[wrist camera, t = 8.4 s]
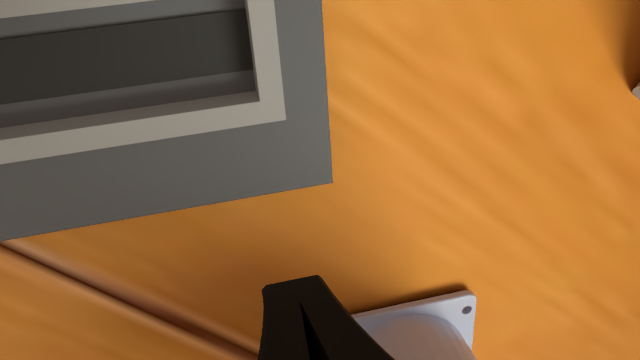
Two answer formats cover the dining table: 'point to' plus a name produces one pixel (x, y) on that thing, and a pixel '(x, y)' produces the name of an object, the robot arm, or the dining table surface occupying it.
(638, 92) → the grey angular block
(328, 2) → the dining table surface
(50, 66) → the console board
